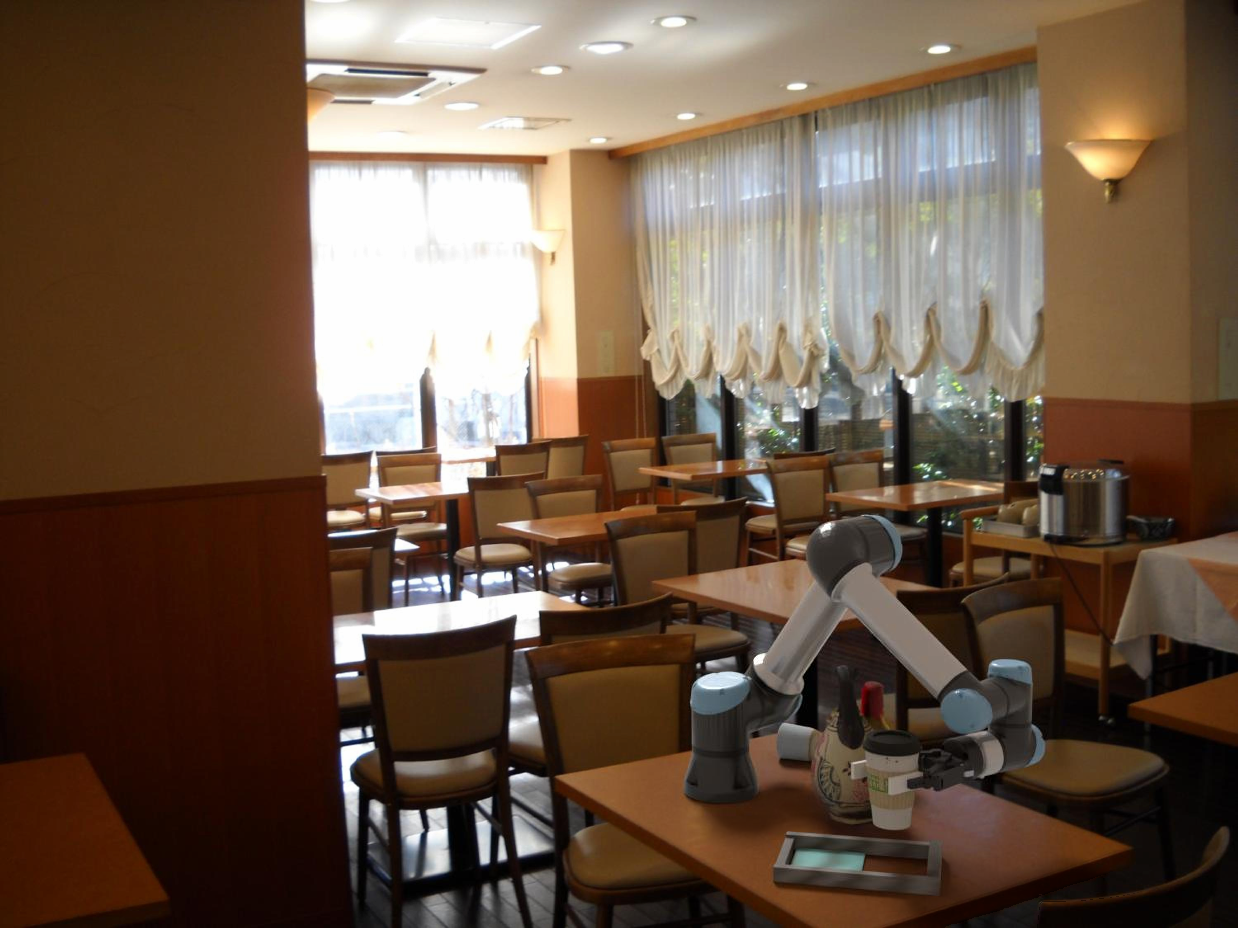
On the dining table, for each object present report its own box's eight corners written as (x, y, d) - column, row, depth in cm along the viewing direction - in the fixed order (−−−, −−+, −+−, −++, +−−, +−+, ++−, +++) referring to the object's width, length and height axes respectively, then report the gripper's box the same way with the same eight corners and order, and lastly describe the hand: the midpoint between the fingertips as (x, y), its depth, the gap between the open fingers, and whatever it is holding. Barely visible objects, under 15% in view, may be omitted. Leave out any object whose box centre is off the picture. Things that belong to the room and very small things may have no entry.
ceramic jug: (813, 801, 255) (811, 651, 253) (892, 805, 252) (892, 653, 250) (807, 831, 239) (806, 672, 237) (893, 836, 236) (892, 674, 233)
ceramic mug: (811, 766, 278) (811, 730, 277) (775, 761, 281) (775, 726, 281) (825, 753, 287) (825, 719, 287) (790, 749, 291) (790, 715, 290)
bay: (773, 881, 216) (773, 860, 216) (787, 844, 232) (786, 825, 232) (939, 895, 209) (939, 874, 209) (941, 856, 225) (941, 837, 225)
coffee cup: (857, 829, 216) (857, 741, 214) (867, 810, 225) (867, 726, 224) (917, 836, 212) (917, 747, 211) (925, 816, 221) (925, 731, 220)
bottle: (902, 779, 268) (902, 684, 266) (881, 785, 264) (881, 689, 262) (859, 765, 277) (859, 674, 276) (839, 771, 274) (838, 678, 272)
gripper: (1016, 794, 218) (915, 819, 207) (926, 761, 236) (829, 782, 225) (1016, 751, 217) (915, 774, 206) (927, 721, 236) (829, 740, 225)
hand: (870, 778), depth 216 cm, fingers closed on coffee cup, 9 cm apart
